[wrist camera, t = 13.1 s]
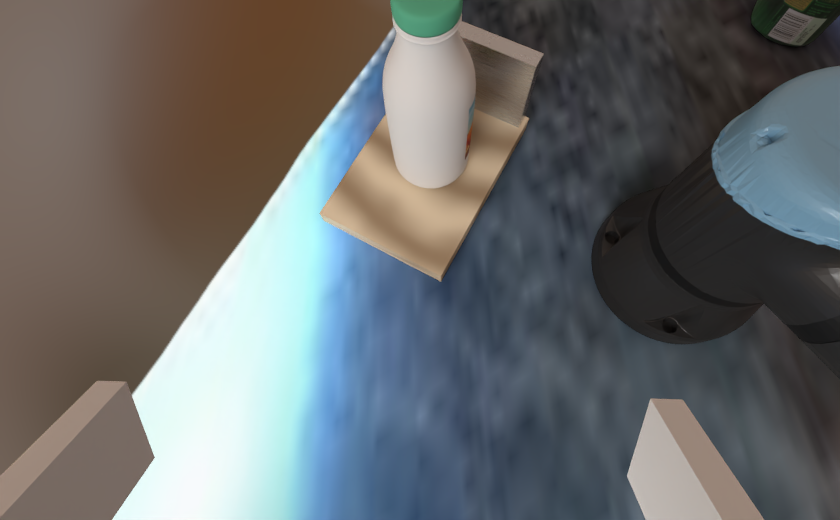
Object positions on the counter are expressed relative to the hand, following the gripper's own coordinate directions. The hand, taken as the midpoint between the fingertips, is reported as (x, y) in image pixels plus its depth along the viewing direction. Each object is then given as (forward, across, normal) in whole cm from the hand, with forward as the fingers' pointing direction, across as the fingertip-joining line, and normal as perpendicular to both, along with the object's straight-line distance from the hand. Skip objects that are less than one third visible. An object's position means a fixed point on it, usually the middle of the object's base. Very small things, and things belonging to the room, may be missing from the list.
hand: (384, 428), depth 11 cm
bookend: (+43, +4, +4) cm, 44 cm away
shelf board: (+39, 0, -4) cm, 39 cm away
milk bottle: (+38, 0, -2) cm, 38 cm away
